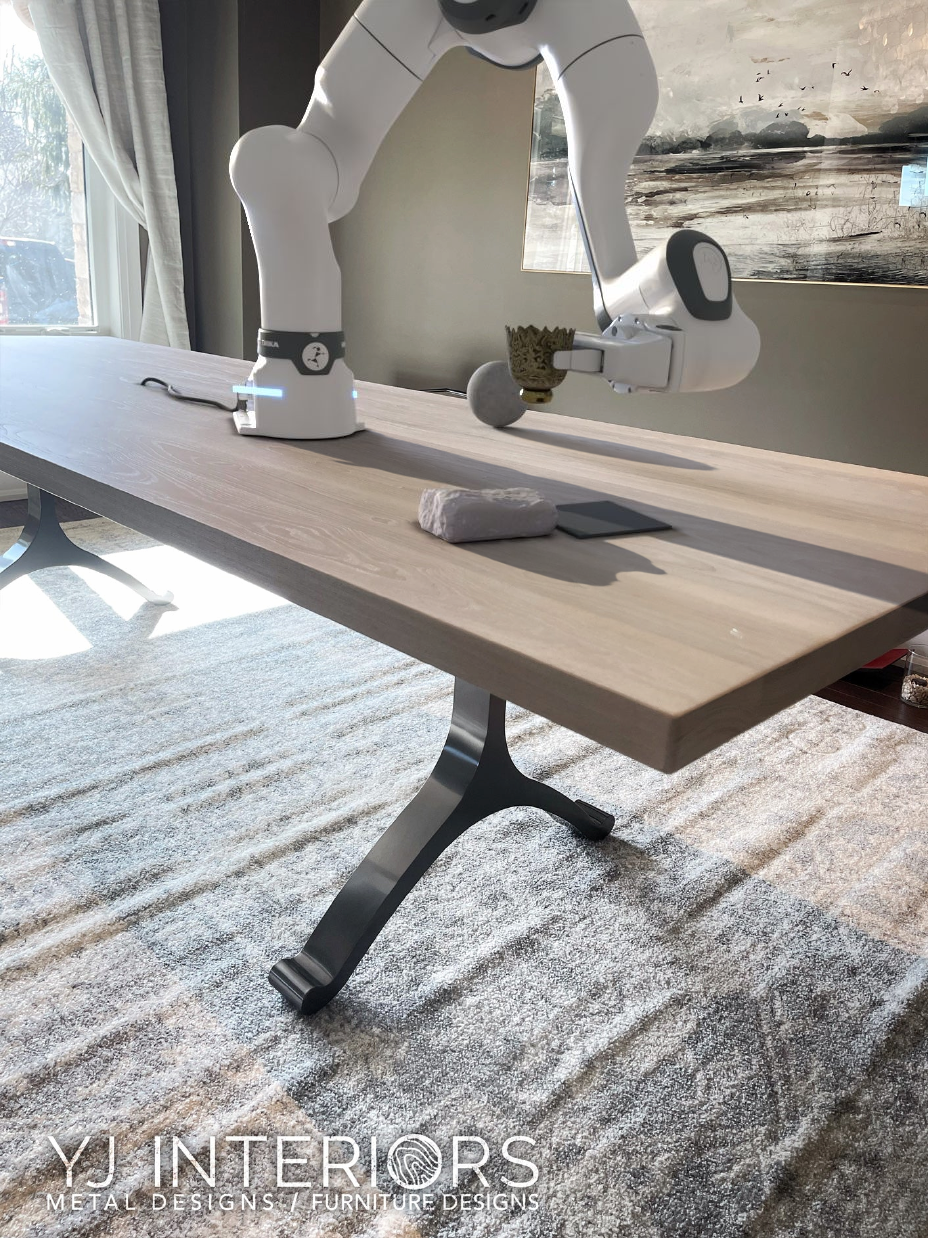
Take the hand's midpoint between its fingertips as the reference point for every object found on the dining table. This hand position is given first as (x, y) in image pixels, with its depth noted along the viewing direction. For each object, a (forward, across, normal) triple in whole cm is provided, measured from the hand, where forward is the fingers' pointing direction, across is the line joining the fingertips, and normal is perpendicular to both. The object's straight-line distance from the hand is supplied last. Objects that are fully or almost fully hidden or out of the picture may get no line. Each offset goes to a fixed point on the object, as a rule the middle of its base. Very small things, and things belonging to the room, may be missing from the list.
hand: (532, 355), depth 101 cm
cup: (-1, 0, +5) cm, 5 cm away
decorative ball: (-20, -41, +15) cm, 48 cm away
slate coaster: (-1, +13, +15) cm, 20 cm away
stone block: (+12, +12, +15) cm, 22 cm away
